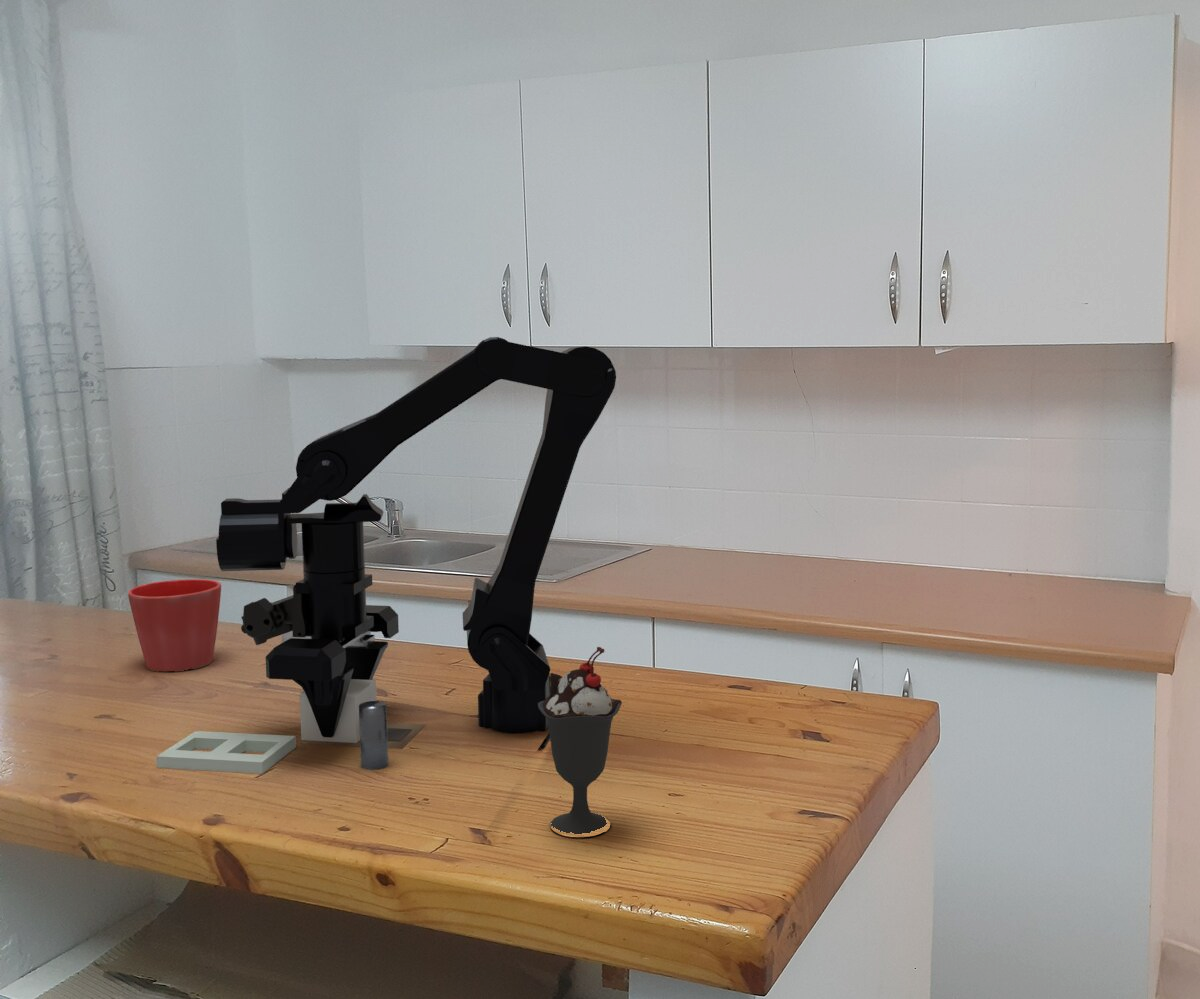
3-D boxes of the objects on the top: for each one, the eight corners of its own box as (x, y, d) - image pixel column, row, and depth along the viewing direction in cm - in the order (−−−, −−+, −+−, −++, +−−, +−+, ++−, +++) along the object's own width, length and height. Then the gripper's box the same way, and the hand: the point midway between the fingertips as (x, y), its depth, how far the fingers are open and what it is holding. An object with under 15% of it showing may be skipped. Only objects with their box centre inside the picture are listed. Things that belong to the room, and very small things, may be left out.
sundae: (626, 841, 91) (626, 654, 89) (540, 844, 90) (538, 656, 88) (618, 808, 97) (617, 633, 95) (538, 811, 97) (535, 635, 95)
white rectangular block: (377, 724, 115) (375, 680, 114) (356, 742, 110) (355, 696, 109) (324, 721, 116) (322, 677, 115) (301, 740, 110) (299, 694, 110)
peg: (392, 776, 105) (390, 701, 104) (383, 786, 103) (380, 709, 102) (367, 775, 105) (364, 700, 104) (357, 785, 103) (354, 708, 102)
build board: (296, 761, 109) (295, 736, 109) (263, 789, 102) (261, 762, 102) (197, 756, 111) (196, 731, 110) (157, 783, 104) (156, 756, 103)
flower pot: (113, 667, 142) (108, 589, 141) (190, 648, 151) (186, 574, 150) (166, 681, 136) (162, 599, 135) (243, 660, 145) (239, 583, 144)
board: (426, 739, 115) (425, 704, 115) (402, 763, 108) (401, 727, 108) (330, 734, 117) (329, 700, 116) (301, 758, 110) (299, 722, 109)
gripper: (295, 549, 121) (301, 695, 123) (206, 585, 103) (215, 755, 105) (398, 552, 119) (402, 699, 121) (326, 588, 101) (332, 762, 103)
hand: (340, 726), depth 113 cm, fingers closed on white rectangular block, 5 cm apart
